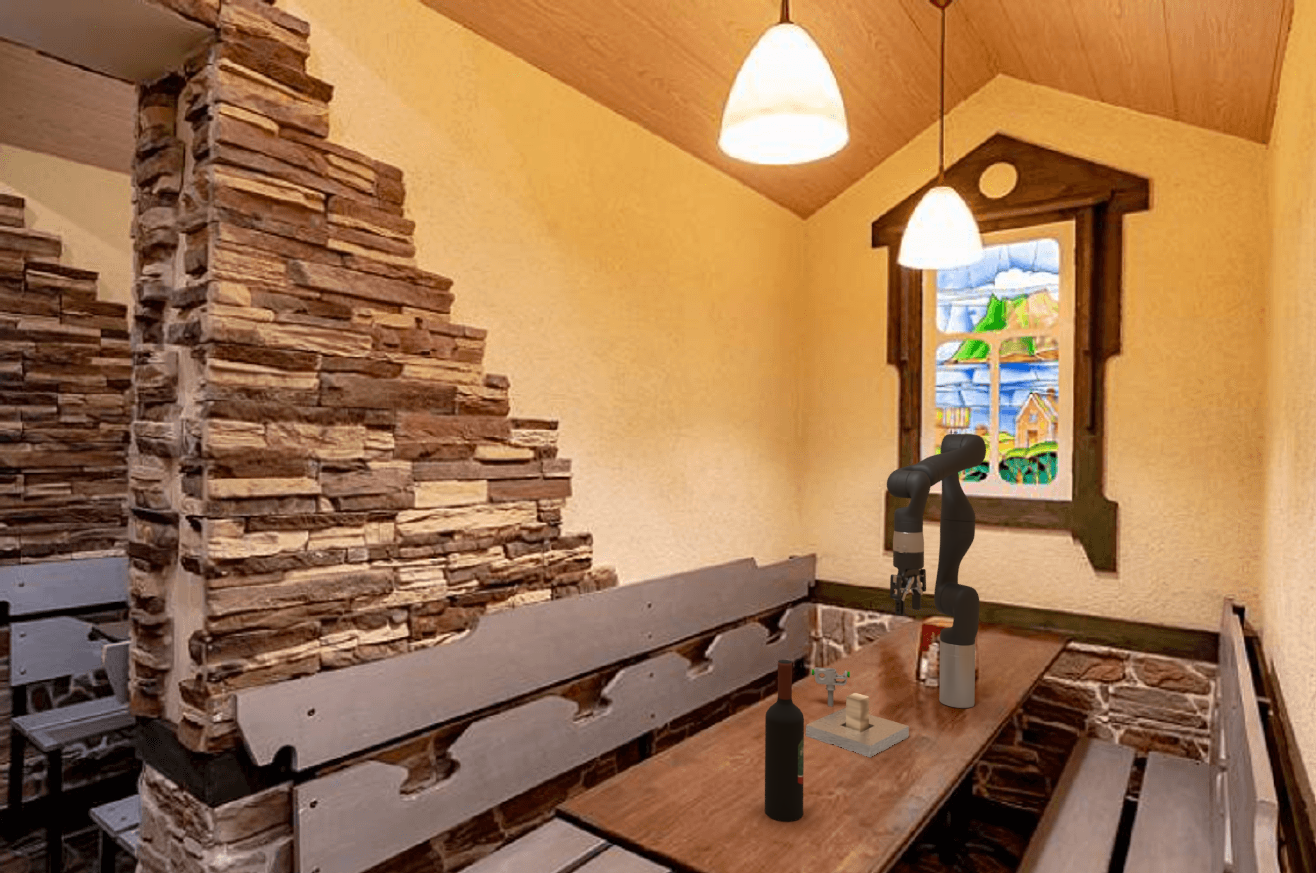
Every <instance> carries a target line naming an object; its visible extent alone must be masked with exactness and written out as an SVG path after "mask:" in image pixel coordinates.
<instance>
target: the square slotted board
mask: <svg viewBox="0 0 1316 873" xmlns="http://www.w3.org/2000/svg"><path fill="white" fill-rule="evenodd" d="M909 731H910V726H909V725H907V724H903V723H899V722H897V721H894V720H890V719H887V718H883V717H879V716H877V715H873V714H870V713H869V729H867V730H865V731H863V732H860V731H857V730H853V729H850V728H847V727H846V707H844V708H841V709H839V710H836V711H835V712H833V713H830V714H828V715H825V716H823V717H821V718H819V719H816V720H814V721H811V722H809V723H807V724H805V736H806V737H807V738H810V739H814V740H816V741H820V742H823V743H826V744H829V745H831V744H834V745H836V746H835V747H837V746H839V747H838V748H840V747H842V748H841V749H843V748H844V749H843V750H846V749H847V750H846V751H848V752H852V751H854V752H853V753H855V752H856V754H858V753H859V755H861V754H862V755H861V756H863V757H864V756H865V757H866V756H867V758H869V759H871V758H873V757H874V755H875V756H876V754H877V753H878V754H880V753H882V752H884V751H886V750H888V749H889V747H890V748H891V747H893V746H895V745H897V744H899V743H901V742H903V741H904V740H906V739H908V738H909V736H910V735H909V733H910V732H909ZM902 740H903V741H902ZM894 744H895V745H894ZM834 745H833V746H834ZM892 745H893V746H892ZM881 751H882V752H881ZM879 752H880V753H879ZM878 754H877V755H878ZM872 756H873V757H872Z"/></svg>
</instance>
